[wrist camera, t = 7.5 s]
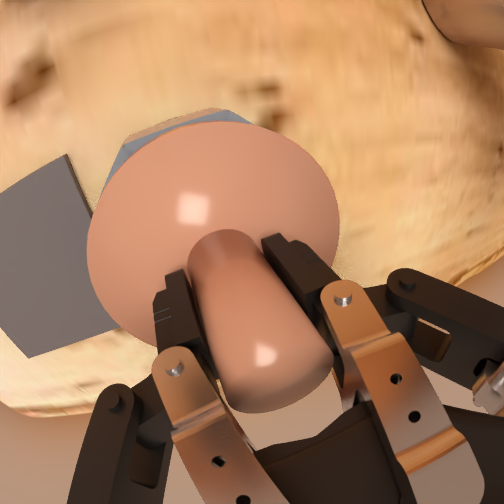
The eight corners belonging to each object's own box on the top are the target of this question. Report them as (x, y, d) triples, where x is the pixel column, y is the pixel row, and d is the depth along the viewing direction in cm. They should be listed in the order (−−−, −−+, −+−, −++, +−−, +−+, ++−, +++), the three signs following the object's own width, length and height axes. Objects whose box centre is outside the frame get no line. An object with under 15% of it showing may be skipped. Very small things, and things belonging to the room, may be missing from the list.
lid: (310, 94, 10) (462, 121, 5) (330, 291, 17) (405, 380, 11) (48, 183, 9) (-45, 301, 3) (155, 360, 15) (178, 478, 9)
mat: (66, 153, 13) (63, 155, 12) (145, 311, 19) (146, 317, 19) (-54, 235, 11) (-58, 240, 10) (29, 353, 17) (28, 358, 17)
